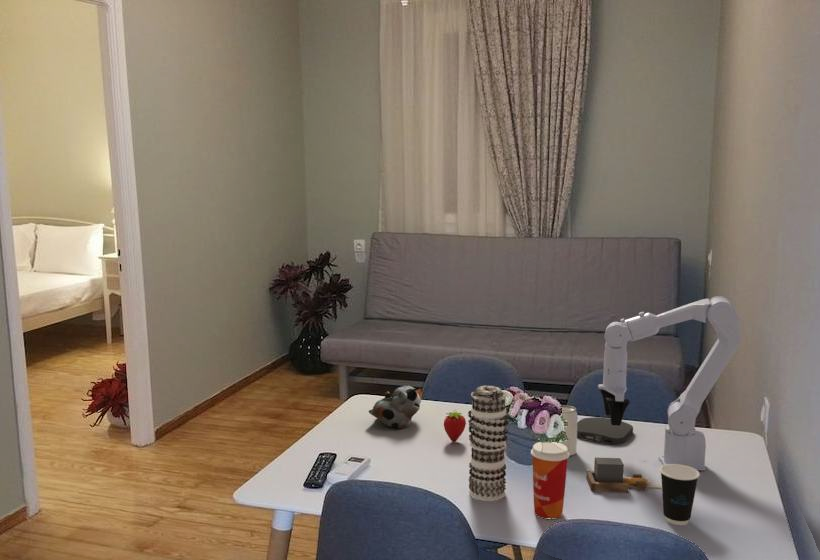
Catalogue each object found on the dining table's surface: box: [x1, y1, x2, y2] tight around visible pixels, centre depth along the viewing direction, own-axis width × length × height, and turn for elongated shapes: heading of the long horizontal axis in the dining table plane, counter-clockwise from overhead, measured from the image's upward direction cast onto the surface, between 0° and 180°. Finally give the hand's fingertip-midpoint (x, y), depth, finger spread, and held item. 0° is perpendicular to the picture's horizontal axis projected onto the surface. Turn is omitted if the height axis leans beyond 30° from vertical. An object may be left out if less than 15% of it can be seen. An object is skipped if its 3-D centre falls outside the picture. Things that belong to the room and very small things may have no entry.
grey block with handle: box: [593, 456, 649, 485], centre depth 174 cm, size 12×4×6 cm, turn 86°
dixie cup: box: [659, 464, 701, 526], centre depth 156 cm, size 8×8×11 cm
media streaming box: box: [577, 416, 634, 446], centre depth 208 cm, size 15×15×3 cm
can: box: [559, 404, 578, 457], centre depth 194 cm, size 6×6×12 cm
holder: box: [585, 470, 662, 493], centre depth 174 cm, size 17×8×2 cm, turn 86°
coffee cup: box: [530, 441, 571, 520], centre depth 158 cm, size 8×8×15 cm
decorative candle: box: [467, 385, 510, 502], centre depth 168 cm, size 9×9×25 cm
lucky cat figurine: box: [368, 385, 423, 430], centre depth 216 cm, size 15×12×14 cm
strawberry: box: [443, 410, 467, 443], centre depth 201 cm, size 6×8×10 cm
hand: (612, 420), depth 190 cm, fingers open, 7 cm apart
